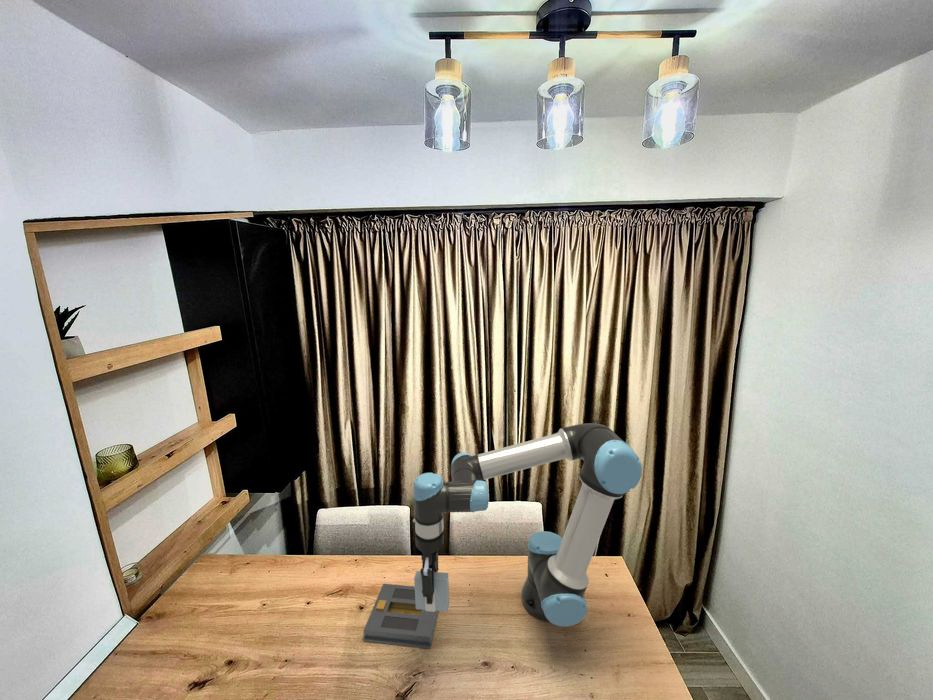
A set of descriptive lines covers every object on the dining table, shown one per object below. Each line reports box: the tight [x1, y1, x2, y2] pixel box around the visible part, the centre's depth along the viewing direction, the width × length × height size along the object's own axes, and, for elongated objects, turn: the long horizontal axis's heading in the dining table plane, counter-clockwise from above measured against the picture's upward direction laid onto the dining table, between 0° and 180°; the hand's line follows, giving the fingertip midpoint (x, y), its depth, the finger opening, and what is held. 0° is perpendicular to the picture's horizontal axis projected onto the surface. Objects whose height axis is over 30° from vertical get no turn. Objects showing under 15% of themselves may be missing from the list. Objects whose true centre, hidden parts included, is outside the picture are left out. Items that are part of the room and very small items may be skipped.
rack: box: [363, 583, 440, 650], centre depth 115 cm, size 20×18×4 cm
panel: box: [413, 570, 450, 612], centre depth 102 cm, size 9×2×10 cm, turn 85°
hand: (431, 605), depth 103 cm, fingers closed on panel, 2 cm apart
